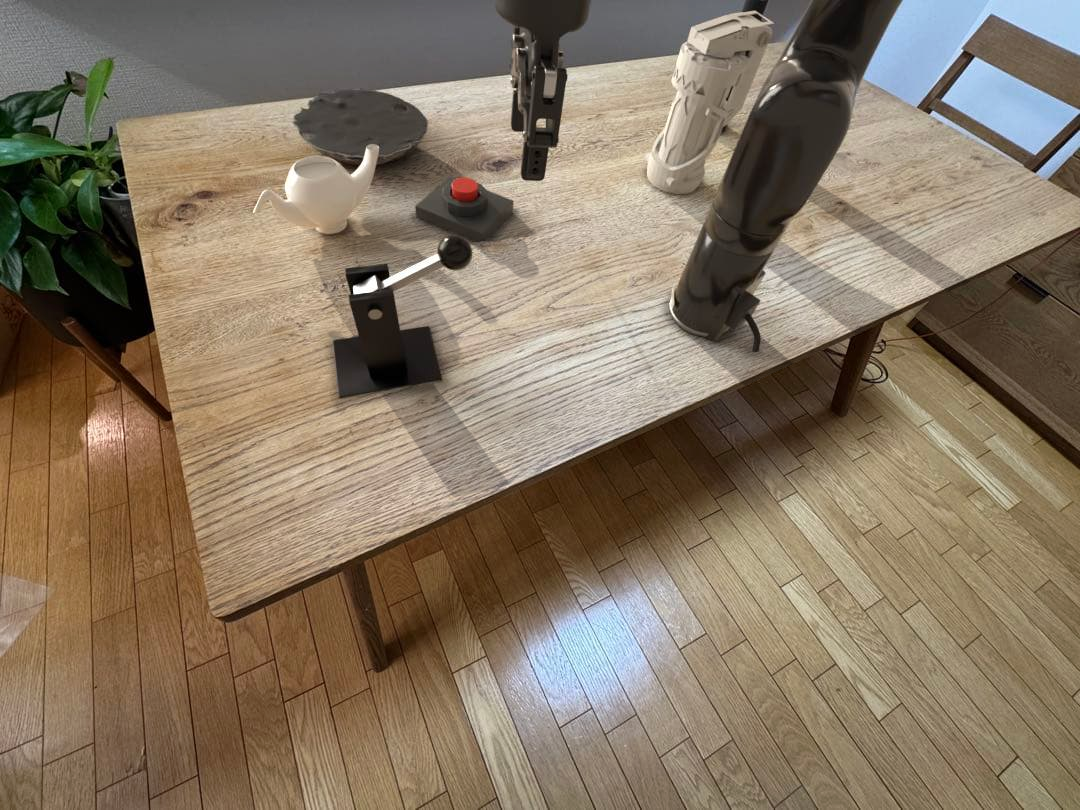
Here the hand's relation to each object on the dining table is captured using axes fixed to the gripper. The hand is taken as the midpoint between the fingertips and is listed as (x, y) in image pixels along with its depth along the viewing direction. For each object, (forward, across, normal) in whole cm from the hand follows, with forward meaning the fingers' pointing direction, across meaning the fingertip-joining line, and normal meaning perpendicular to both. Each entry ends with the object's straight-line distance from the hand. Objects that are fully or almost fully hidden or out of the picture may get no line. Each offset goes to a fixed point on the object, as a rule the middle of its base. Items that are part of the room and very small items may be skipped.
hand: (526, 153), depth 51 cm
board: (+25, +43, +21) cm, 54 cm away
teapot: (+25, +21, +25) cm, 41 cm away
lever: (+12, -6, +11) cm, 17 cm away
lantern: (+24, +35, -36) cm, 55 cm away
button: (+21, +24, +4) cm, 32 cm away
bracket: (+24, -7, +16) cm, 30 cm away
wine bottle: (+24, +54, -49) cm, 77 cm away
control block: (+25, +24, +4) cm, 34 cm away
